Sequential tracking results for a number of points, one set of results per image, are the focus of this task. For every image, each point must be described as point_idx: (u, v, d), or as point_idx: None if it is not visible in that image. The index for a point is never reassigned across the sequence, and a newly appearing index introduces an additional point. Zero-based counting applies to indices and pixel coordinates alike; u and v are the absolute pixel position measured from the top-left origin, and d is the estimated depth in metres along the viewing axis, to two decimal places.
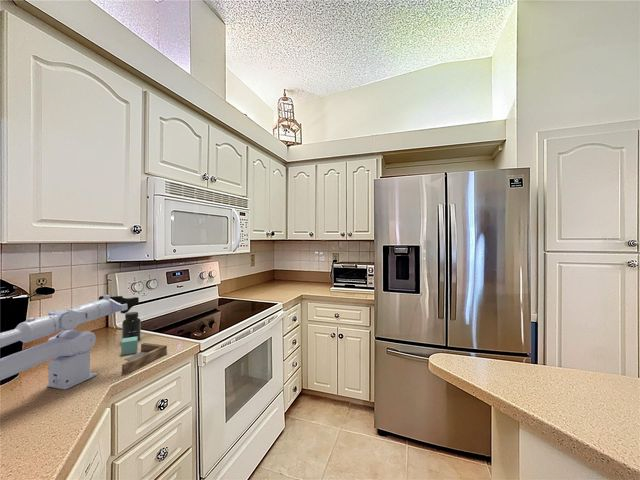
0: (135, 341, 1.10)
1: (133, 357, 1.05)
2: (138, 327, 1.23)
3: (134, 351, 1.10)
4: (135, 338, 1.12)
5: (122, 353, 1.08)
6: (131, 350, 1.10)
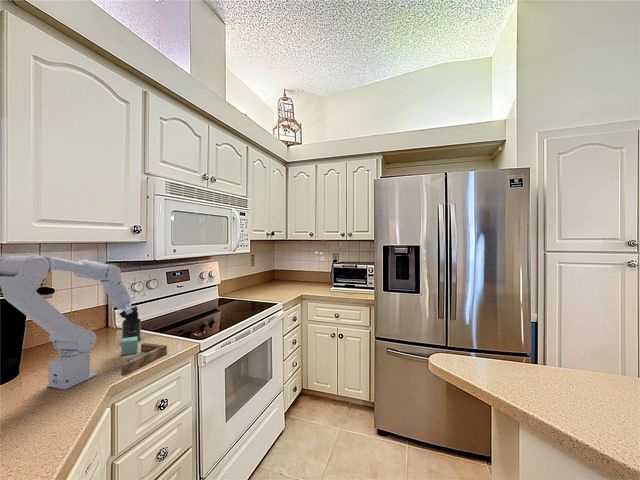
0: (135, 341, 1.10)
1: (133, 357, 1.05)
2: (138, 327, 1.23)
3: (134, 351, 1.10)
4: (135, 338, 1.12)
5: (122, 353, 1.08)
6: (131, 350, 1.10)
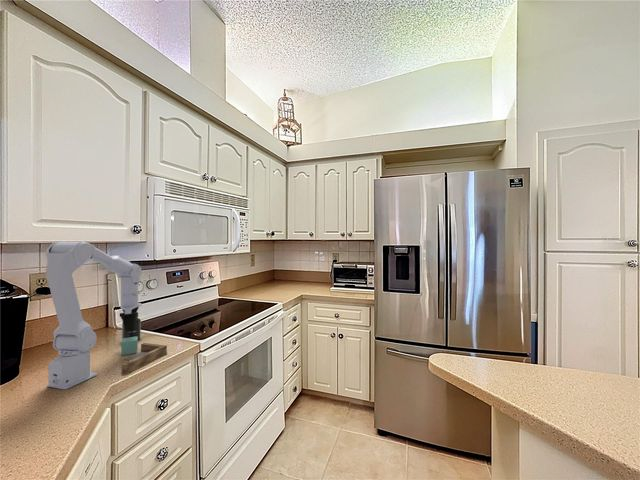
0: (135, 341, 1.10)
1: (133, 357, 1.05)
2: (138, 327, 1.23)
3: (134, 351, 1.10)
4: (135, 338, 1.12)
5: (122, 353, 1.08)
6: (131, 350, 1.10)
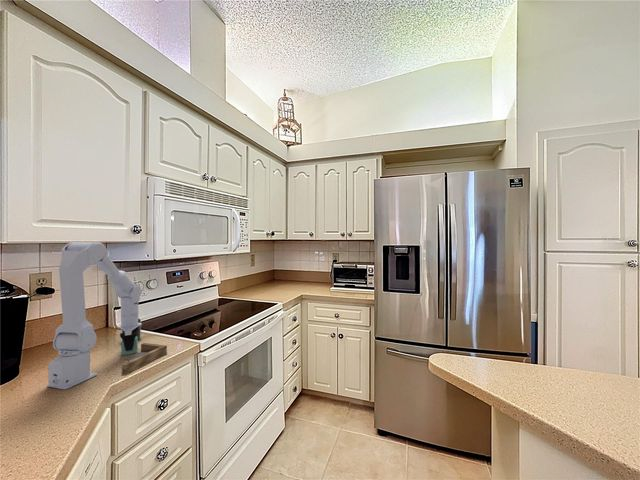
0: (135, 341, 1.10)
1: (133, 357, 1.05)
2: None
3: (134, 351, 1.10)
4: (135, 338, 1.12)
5: (122, 353, 1.08)
6: (131, 350, 1.10)
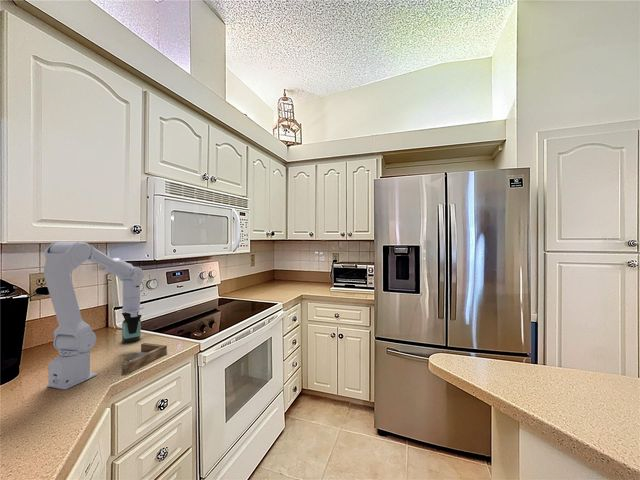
0: (138, 324, 1.10)
1: (133, 357, 1.05)
2: None
3: (137, 334, 1.10)
4: None
5: (125, 336, 1.07)
6: (134, 334, 1.09)
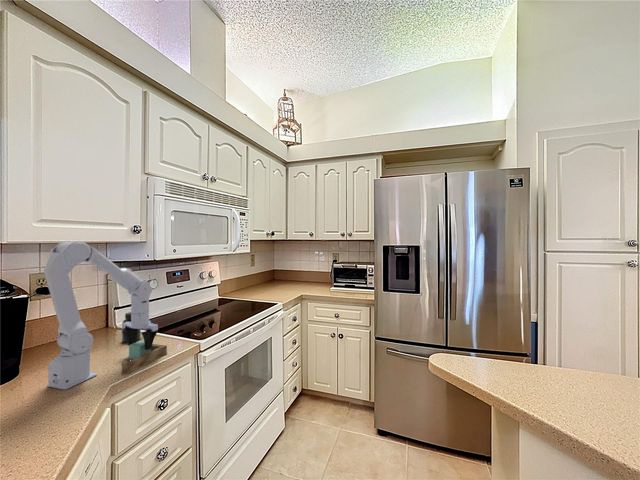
0: None
1: None
2: None
3: None
4: None
5: None
6: None
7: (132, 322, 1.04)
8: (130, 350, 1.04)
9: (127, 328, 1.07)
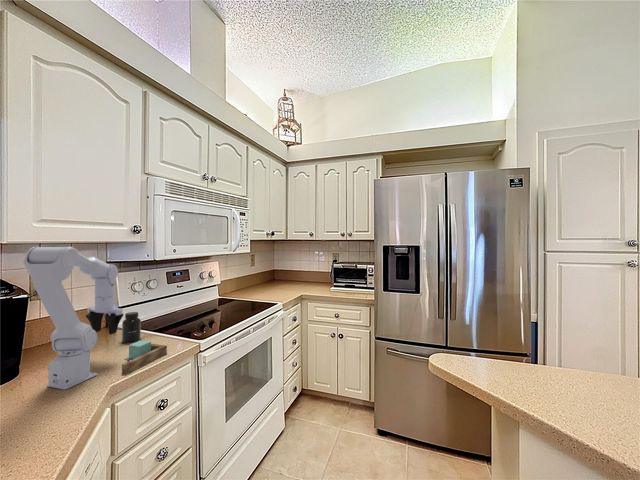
0: (150, 343, 1.08)
1: None
2: (138, 327, 1.23)
3: None
4: (144, 341, 1.08)
5: None
6: None
7: (96, 306, 1.02)
8: (130, 350, 1.04)
9: (91, 312, 1.05)
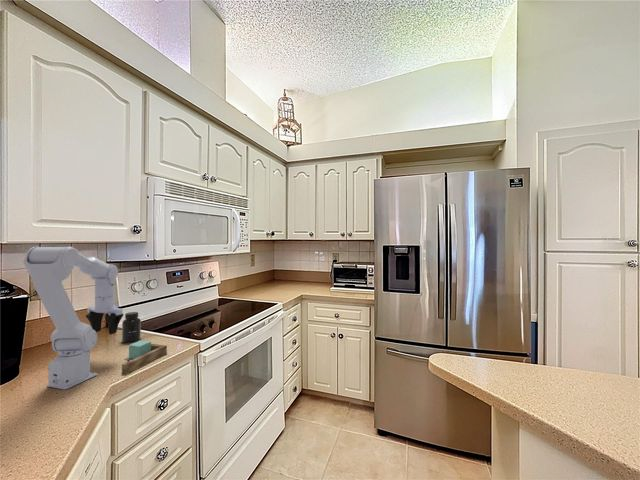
0: (150, 343, 1.08)
1: None
2: (138, 327, 1.23)
3: None
4: (144, 341, 1.08)
5: None
6: None
7: (96, 306, 1.02)
8: (130, 350, 1.04)
9: (91, 312, 1.05)
